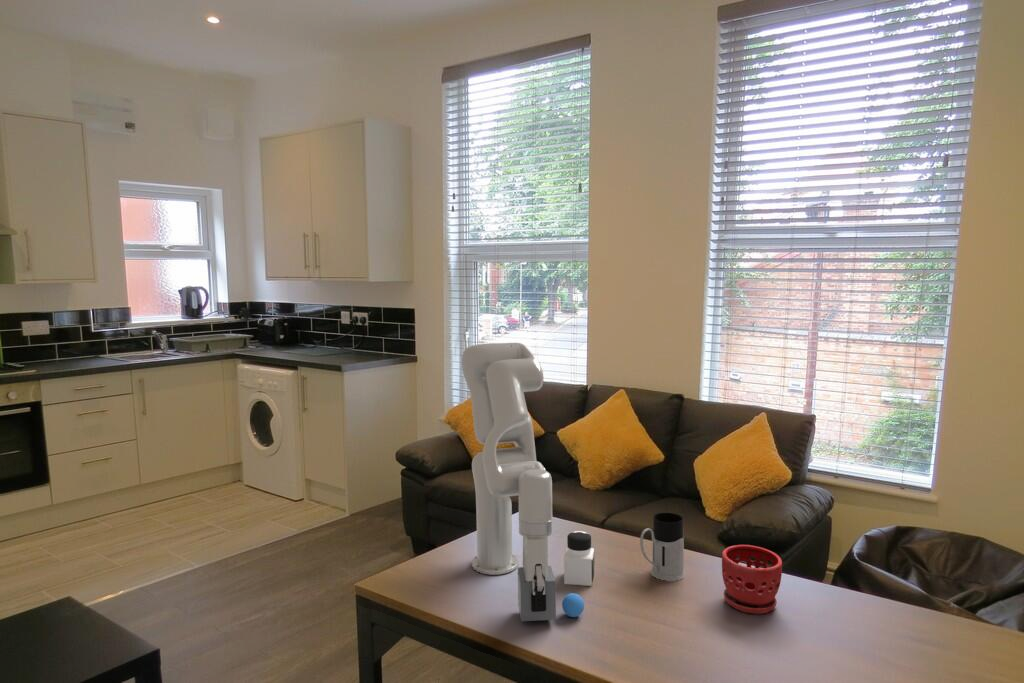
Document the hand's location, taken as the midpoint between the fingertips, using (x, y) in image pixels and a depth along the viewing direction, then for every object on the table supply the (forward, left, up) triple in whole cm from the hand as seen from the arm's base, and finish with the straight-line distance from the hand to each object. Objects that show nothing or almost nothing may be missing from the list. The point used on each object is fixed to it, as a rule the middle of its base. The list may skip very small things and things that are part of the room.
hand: (536, 601), depth 144 cm
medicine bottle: (-18, +13, -4) cm, 23 cm away
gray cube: (0, 0, -2) cm, 2 cm away
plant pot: (0, +50, -4) cm, 50 cm away
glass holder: (-17, +34, -4) cm, 39 cm away
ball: (0, +8, -1) cm, 8 cm away
